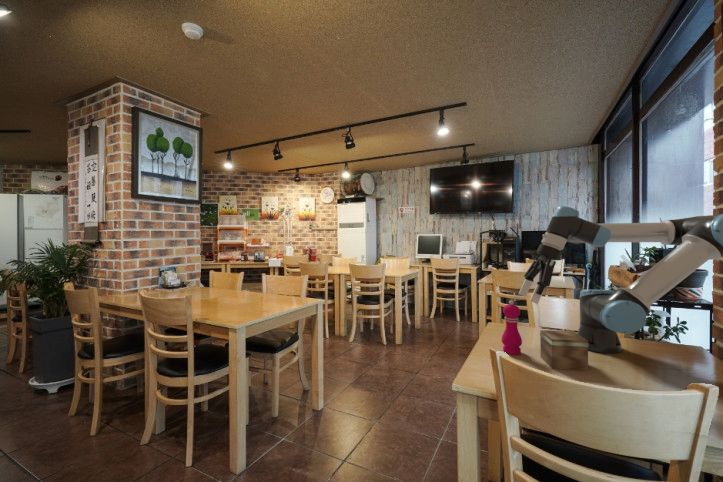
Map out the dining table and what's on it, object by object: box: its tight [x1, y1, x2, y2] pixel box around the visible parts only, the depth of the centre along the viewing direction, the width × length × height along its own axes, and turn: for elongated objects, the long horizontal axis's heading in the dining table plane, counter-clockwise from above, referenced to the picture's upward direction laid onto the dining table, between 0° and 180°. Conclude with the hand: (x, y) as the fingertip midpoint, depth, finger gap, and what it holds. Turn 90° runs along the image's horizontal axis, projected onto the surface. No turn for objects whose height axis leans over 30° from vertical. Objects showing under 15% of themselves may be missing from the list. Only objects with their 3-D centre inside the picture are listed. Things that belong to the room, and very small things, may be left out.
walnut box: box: [539, 329, 589, 372], centre depth 116 cm, size 11×11×10 cm
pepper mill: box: [501, 300, 523, 356], centre depth 128 cm, size 7×7×20 cm
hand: (527, 298), depth 125 cm, fingers open, 13 cm apart
